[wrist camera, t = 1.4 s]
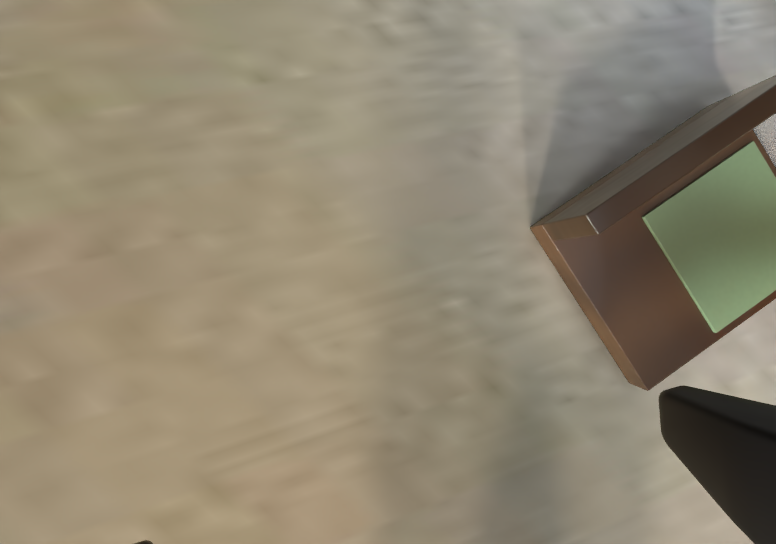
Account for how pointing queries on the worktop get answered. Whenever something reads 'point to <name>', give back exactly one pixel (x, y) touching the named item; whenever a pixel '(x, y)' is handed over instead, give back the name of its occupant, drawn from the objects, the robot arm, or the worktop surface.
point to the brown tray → (674, 239)
